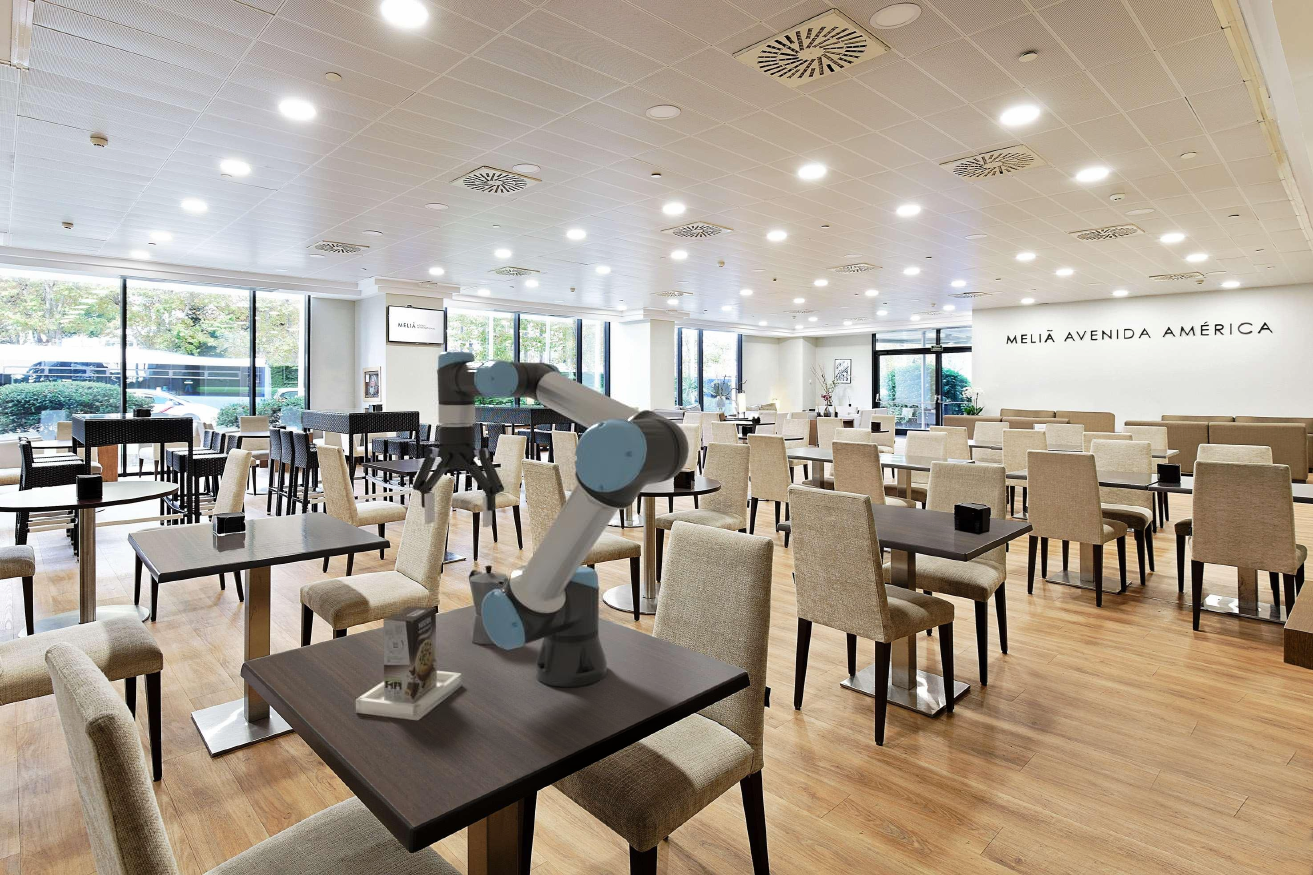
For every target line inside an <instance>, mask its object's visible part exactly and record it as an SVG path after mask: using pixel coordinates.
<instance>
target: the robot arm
mask: <svg viewBox="0 0 1313 875" xmlns="http://www.w3.org/2000/svg"><path fill="white" fill-rule="evenodd" d="M475 359H476V358H475V355H474V353H473V352H469V351H443V352H440V353H439V355H438V356H437V369H436V374H437V398H438V399H437V400H438V408H437V410H438V413H437V414H438V416H437V417H438V421H437V422H438V424H440V425H441V426H439V428H438V442H439V447H438V448H437V447H436V446H432V447H426V448H425V453H424V459H423V460H422V464H421V466H420V468H419V471H418V473H417V475H416V477H415V479H414V481H413V485H412V490H413V491H418V492H420V495H421V501H420V502H421V507H422V508H424V524H425V525H430V524H433V523H435V522H436V511H435V510H436V509H435V505H436V502H435V499H436V498H435V496H436V495H435V493H436V492H433V489H434V487H435V486H436V484H437V483H438V482H440V481H439V480H440V479H442V476H443V475H444V474H445V473H446V472H447V471H448V470H454V469H456V470H465V471H467V472H468V473H469V474H470V475H471V476H472V479H474V480H475V482H476V484H478V485H479V487H480V488H481V490H482V491H483V493H485V495H483V496H482V528H487V527H490V526H493V511H494V510H496V495H497V494H499V493H503V492H504V491H505V486H504V485H503V483H502V481H501V479H500V476H499V474H498V472H497V469H496V467H495V466H494V463H493V462H492V460H491V454H490V449H489V448H487V447H485V448H479V449H477V448H476V446H475V445H476V440H477V438H476V427H475V426H474V425H473V424H475V423H476V398H485V399H487V398H489V399H502V398H505V399H506V398H515V399H517V398H528V399H531V400H533V401H535V402H537V403H539V404H541V405H544V406H546V407H548V408H549V409H551V410H553V411H555V412H557V413H558V414H560V415H562V416H564V417H566V418H568V419H570V420H572V421H574V422H576V423H577V424H579V425H581V426H583V427H585V428H586V430H585V431H584V432H583V434H582V435H581V436H580V437H579V439H578V441H577V442H578V443H577V445H576V447H575V452H574V455H575V456H576V460H575V461H574V465H575V472H574V477H575V481H576V485H575V487H574V488H573V490H572V492H571V493H570V495H569V497H568V498H567V499H566V502H564V504H563V506H562V508H561V509H560V511H559V513H558V514H557V516H556V517H555V519H554V521H553V522H552V523H551V525H550V526H549V528H548V530H547V532H546V533H545V534H544V536H543V538H542V539H541V541H540V543H539V544H538V546H537V548H536V549H535V551H534V553H533V554H532V556H531V557H530V559H529V561H528V562H527V564H525V565H521V566H519V567H517V568H516V569H515V570H514V571H513V572H511V575H510V576H509V578H508V581H507V583H506V584H505V586H504V587H502V588H501V589H494V590H493V591H491V592H489V593H488V594H487V595H486V596H485V597H484V599H483V602H482V609H481V613H482V618H483V624H484V627H485V630H486V632H487V634H488V635H489V637H490V638H491V640H492V641H493V642H494V643H495V645H496V646H497V647H499V648H500V649H504V650H512V649H516V648H522V647H524V646H525V645H528V644H532V643H533V642H536V641H538V640H541V639H543V640H542V643H541V646H540V650H539V652H538V655H537V658H536V662H535V677H536V679H537V680H538V681H539V682H541V683H544V684H546V685H549V686H554V687H564V688H569V687H572V688H573V687H582V686H586V685H590V684H594V683H596V682H599V681H600V680H602V679H603V678H605V676H606V675H607V673H608V671H607V670H608V666H607V664H608V662H607V658H606V656H605V652H604V649H603V646H602V642H601V641H600V637H599V634H600V633H599V625H600V624H599V619H600V618H599V617H600V616H599V615H600V614H599V613H600V612H599V609H600V606H599V605H600V592H599V591H600V586H599V575H598V573H597V571H596V570H595V569H593V568H591V567H589V566H584V565H582V563H584V561H585V559H586V558H587V557H588V555H589V554H590V552H591V550H592V549H593V547H594V546H595V545H596V543H597V542H598V540H599V538H600V537H601V535H602V534H603V532H604V531H605V530H606V528H607V526H608V525H609V523H610V522H611V521H612V519H613V517H615V514H616V513H617V512H618V510H625V509H628V508H630V507H631V506H632V505H633V503H634V501H636V499H637V497H638V496H639V495H640V493H641V491H642V490H643V489H644V487H646V486H647V485H653V484H658V483H664V482H666V481H670V480H671V479H673V478H675V477H676V476H678V474H679V473H680V472H682V470H683V469H684V467H685V466H686V464H687V462H688V459H689V451H690V450H689V448H690V447H689V441H688V438H687V435H686V434H685V432H684V430H683V429H682V428H681V426H679V425H678V423H676V422H674V421H673V420H671V419H669V418H667V417H664V416H662V415H660V414H658V413H656V412H655V411H654V412H653V411H652V410H649V409H643V410H637V409H635V408H632V407H631V406H629V405H627V404H624V403H622V402H621V401H618V400H616V399H614V398H612V397H609V396H607V395H605V394H603V393H601V392H599V391H597V390H595V389H593V388H590V387H588V386H586V385H584V384H582V383H580V382H578V381H575V380H573V379H572V378H569V377H568V376H565V375H564V374H563V373H562V372H561V371H560V369H559V367H557V366H556V365H554V364H551V363H545V362H542V361H541V362H525V361H524V362H523V361H507V360H501V359H487V360H478V361H477V360H475ZM438 457H439V458H440V459H441V460H440V461H439V462H438V464H437V465H436V467H435V469H434V471H433V472H432V473H431V471H432V469H433V466H434V464H435V462H436V459H437V458H438ZM476 457H477V459H478V460H479V461H480V464H481V467H482V469H483V471H484V472H482V470H481V469H480V467H479V464H478V463H477V462H476V461H475V458H476ZM430 473H431V474H430ZM484 473H485V474H484Z"/></svg>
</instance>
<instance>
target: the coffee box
mask: <svg viewBox="0 0 1313 875" xmlns="http://www.w3.org/2000/svg"><path fill="white" fill-rule="evenodd" d="M436 609H437V608H436V607H430V606H411V605H408V606H406V607H404V608H403V609H400V610H398V611H397V612H395V613H393V614H391V615H389V616H387V617H385V618H383V682H384V700H385V701H394V702H402V703H410V704H413V703H415V702H416V701H417V700H418V699H420V698H421V697H422V696H424V695H425V694H426V693H428V692H429V691H430V690H432V689H433V688H434V687H435V686H437V671H438V670H437V669H438V668H437V666H438V665H437V613H436Z"/></svg>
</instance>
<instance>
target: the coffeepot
mask: <svg viewBox="0 0 1313 875" xmlns="http://www.w3.org/2000/svg"><path fill="white" fill-rule="evenodd" d="M492 567H493V566H492V565H486V566H484V568H485V572H482V571H480V570H477V569H472V570H471V571H470V572H469V575H468V581H469V585H470V591H471V597H472V603H473V605H474V613H473V617H472V624H471V629H470V630H471V632H470V640H471V642H472V643H474V644H478V645H493V644H495V643H494V642H493V641H492V640H491V638H490V637H489V635H488V634H487V632H486V630H485V627H484V624H483V618H482V613H481V609H482V602H483V599H484V597H485V596H486V595H487V594H488V593H489V592H491V591H493V590H494V589H501V588H502V587H504V586H505V584H506V583H507V581H508V579H509V578H508V575H506V573H498V572H497V573H496V572H492ZM495 645H496V644H495Z"/></svg>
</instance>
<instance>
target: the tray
mask: <svg viewBox="0 0 1313 875" xmlns="http://www.w3.org/2000/svg"><path fill="white" fill-rule="evenodd" d="M462 686H463V674H462V673H459V672H451V671H443V670H442V671H441V670H437V686H435V687H434V688H433V689H432V690H430V691H429V692H428V693H426V694H425V695H424V696H422V697H421V698H420V699H418V700H417V701H416V702H415V703H413V704H410V703H402V702H394V701H385V700H384V681H381V683H379V684H377V685H376V686H375V687H373V688H371V689H370V690H368V691H366V692H365V693H363V694H362V695H361V696H359V697H358V698H355V714H357V713H358V714H365V715H373V716H379V717H381V716H382V717H387V718H388V717H389V718H395V719H396V718H397V719H405V720H412V721H419V720H420V719H421V718H423V717H424V716H425V715H427V714H428V713H430V712H431V711H432V710H433V709H434V708H435V707H436V706H438V705H439V704H440V703H441V702H443V701H444V700H445V699H447V698H448V697H449V696H451V695H452V694H453V693H454V692H455V691H458V689H459V688H461V687H462Z"/></svg>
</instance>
